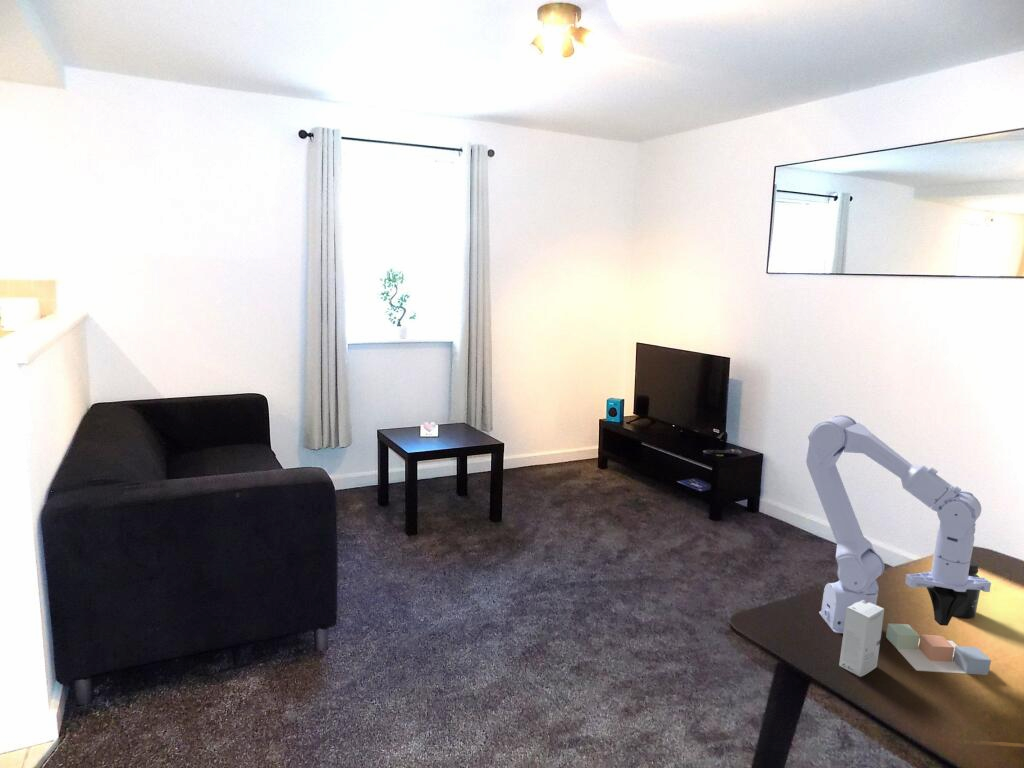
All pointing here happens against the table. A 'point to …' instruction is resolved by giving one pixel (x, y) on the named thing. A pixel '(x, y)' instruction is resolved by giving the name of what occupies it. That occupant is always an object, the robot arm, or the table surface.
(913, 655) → the felt mat
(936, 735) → the table surface
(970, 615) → the supplement bottle
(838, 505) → the robot arm
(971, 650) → the slate block
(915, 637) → the sage block
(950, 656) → the terracotta block
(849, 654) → the skincare box
